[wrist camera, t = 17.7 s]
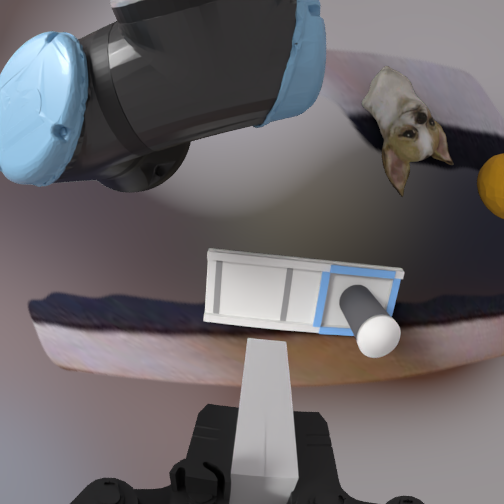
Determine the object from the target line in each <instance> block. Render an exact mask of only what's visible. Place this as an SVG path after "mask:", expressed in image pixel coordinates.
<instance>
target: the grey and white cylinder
mask: <svg viewBox="0 0 504 504" xmlns="http://www.w3.org/2000/svg"><path fill="white" fill-rule="evenodd" d="M339 305H340V308H341V310H342V312H343V314H344V316H345V318H346V320H347V322H348V324H349V326H350V328H351V330H352V332H353V334H354V336H355V338H356V340H357V344H358V346H359V348H360V350H361V352H362V353H363V354H364V355H366V356H368V357H372V358H378V357H382V356H385V355H387V354H388V353H390V352H391V351H392V350H393V349H394V348H395V347H396V346H397V344H398V342H399V340H400V335H401V331H400V327H399V325H398V324H397V322H396V321H395V320H394V319H393V318H392V317H391V316H390V315H389V314H388V313H387V311H386V310H385V309H384V308H383V307H382V305H381V304H380V303H379V302H378V300H377V299H376V298H375V297H374V296H373V294H372V293H371V292H370V291H369V290H368V288H366V287H365V286H363V285H352V286H350V287H348V288H347V289H345V290H344V291H343V293H342V294H341V296H340V300H339Z"/></svg>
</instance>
